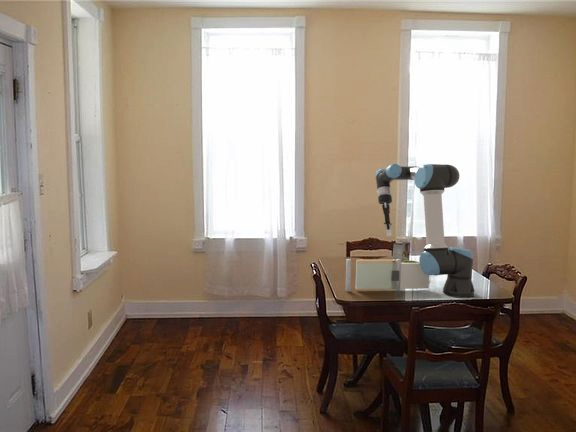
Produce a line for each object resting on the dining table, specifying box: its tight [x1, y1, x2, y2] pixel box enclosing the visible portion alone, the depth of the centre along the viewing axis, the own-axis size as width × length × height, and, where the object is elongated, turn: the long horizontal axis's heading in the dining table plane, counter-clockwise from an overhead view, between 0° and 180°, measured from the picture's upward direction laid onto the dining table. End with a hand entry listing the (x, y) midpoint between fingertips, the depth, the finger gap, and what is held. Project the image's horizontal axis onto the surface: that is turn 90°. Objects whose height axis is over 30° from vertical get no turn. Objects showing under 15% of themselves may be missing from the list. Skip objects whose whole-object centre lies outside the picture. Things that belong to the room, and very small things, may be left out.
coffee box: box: [392, 240, 411, 263], centre depth 338 cm, size 9×6×16 cm
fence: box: [344, 258, 430, 292], centre depth 289 cm, size 3×43×16 cm, turn 97°
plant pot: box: [402, 259, 419, 263], centre depth 319 cm, size 9×9×9 cm
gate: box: [354, 259, 396, 290], centre depth 288 cm, size 20×2×15 cm, turn 97°
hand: (389, 235), depth 316 cm, fingers closed
